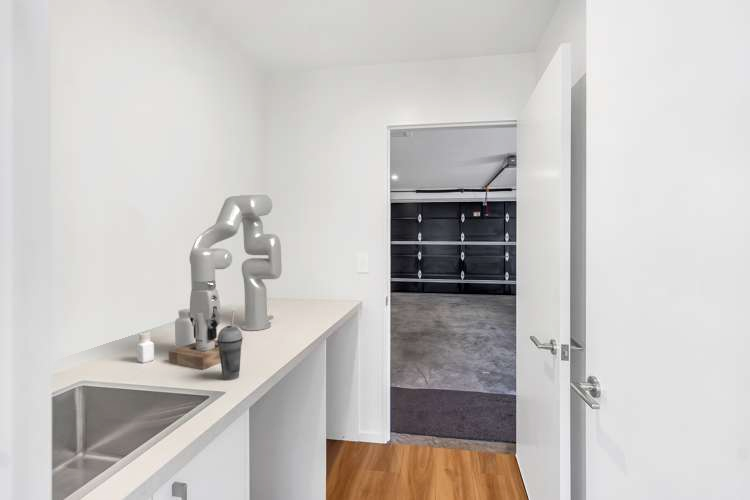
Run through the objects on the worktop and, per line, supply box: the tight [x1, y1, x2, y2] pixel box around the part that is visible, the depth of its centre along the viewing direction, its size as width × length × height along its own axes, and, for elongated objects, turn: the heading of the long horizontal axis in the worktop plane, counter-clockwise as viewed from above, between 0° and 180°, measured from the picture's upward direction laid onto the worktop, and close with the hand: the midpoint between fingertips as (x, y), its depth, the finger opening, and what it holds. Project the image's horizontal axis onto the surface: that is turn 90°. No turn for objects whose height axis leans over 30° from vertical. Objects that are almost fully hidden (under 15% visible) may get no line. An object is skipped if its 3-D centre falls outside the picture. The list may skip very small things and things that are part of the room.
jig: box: [168, 339, 221, 371], centre depth 131 cm, size 16×16×4 cm
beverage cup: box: [216, 310, 244, 381], centre depth 114 cm, size 7×7×20 cm
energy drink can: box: [195, 309, 216, 352], centre depth 131 cm, size 6×6×15 cm
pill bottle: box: [174, 308, 196, 349], centre depth 141 cm, size 8×8×15 cm
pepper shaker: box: [136, 331, 155, 364], centre depth 129 cm, size 4×4×10 cm
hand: (205, 337), depth 131 cm, fingers closed on energy drink can, 6 cm apart
